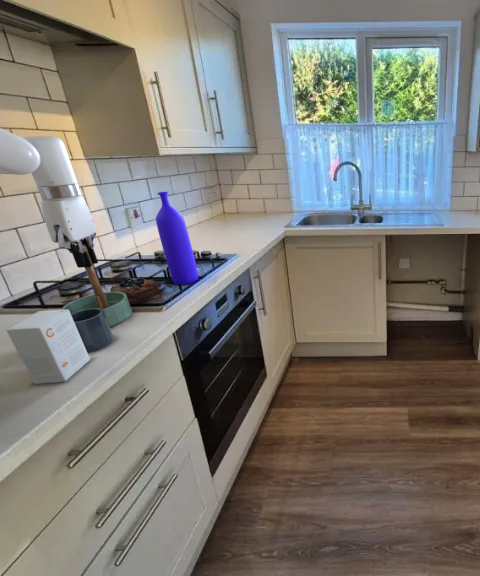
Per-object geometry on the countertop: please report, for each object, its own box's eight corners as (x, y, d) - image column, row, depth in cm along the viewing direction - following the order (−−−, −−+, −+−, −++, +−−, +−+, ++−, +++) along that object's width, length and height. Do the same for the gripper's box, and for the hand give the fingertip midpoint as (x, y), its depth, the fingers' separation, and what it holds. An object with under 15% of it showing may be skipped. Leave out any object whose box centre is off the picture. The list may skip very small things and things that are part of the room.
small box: (62, 361, 82) (38, 310, 76) (91, 359, 82) (69, 308, 77) (32, 384, 74) (4, 329, 69) (65, 382, 74) (39, 327, 69)
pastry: (129, 306, 107) (123, 288, 105) (106, 299, 112) (100, 281, 110) (164, 292, 116) (159, 275, 114) (142, 286, 121) (137, 270, 119)
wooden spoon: (98, 313, 97) (72, 246, 89) (105, 308, 100) (80, 242, 92) (105, 313, 97) (80, 245, 90) (112, 308, 100) (88, 242, 92)
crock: (68, 353, 84) (55, 323, 81) (89, 337, 91) (77, 309, 88) (102, 351, 85) (90, 321, 82) (120, 335, 92) (109, 307, 89)
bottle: (174, 287, 120) (148, 195, 108) (171, 279, 126) (146, 192, 114) (201, 281, 124) (179, 192, 112) (196, 274, 130) (175, 189, 118)
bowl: (55, 335, 92) (47, 316, 90) (91, 310, 105) (84, 293, 103) (114, 331, 94) (107, 312, 91) (142, 307, 106) (136, 290, 104)
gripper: (67, 188, 93) (92, 256, 100) (16, 199, 78) (50, 277, 86) (98, 187, 93) (120, 254, 101) (53, 197, 79) (83, 275, 86)
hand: (88, 264), depth 93 cm, fingers closed on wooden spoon, 1 cm apart
